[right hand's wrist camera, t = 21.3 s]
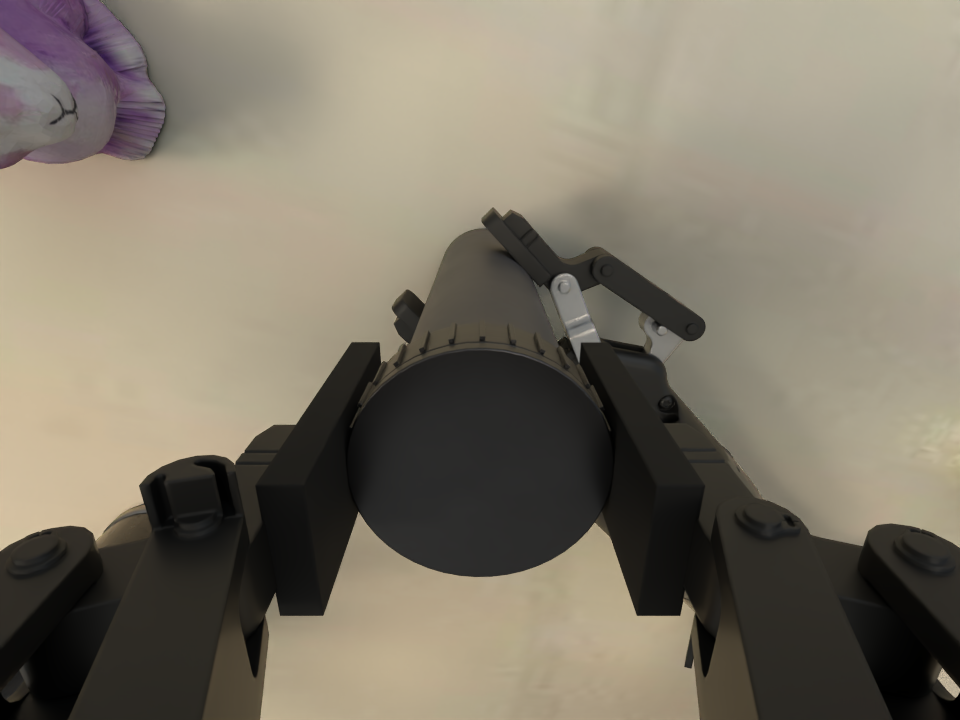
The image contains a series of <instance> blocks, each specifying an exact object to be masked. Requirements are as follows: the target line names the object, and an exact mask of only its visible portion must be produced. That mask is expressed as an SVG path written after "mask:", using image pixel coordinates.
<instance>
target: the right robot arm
mask: <svg viewBox="0 0 960 720" xmlns="http://www.w3.org/2000/svg"><path fill="white" fill-rule="evenodd" d="M579 364H580V366H581V367H582V369H583V371H584V373H585V375H586V377H587V379H588V382H589V384H590V386H591V385H593V386H594V388H595V390H596V392H597V394H598V396H599V398H600V400H601V403H602V405H603V407H604V409H605V410H604V411H603V413H604V415H605V418H606V420H607V422H608V424H609V426H610V428H611V430H612V433H611V438H612V443H613V447H614V471H613V480H612V485H611V490H610V493H609V496H608V498H607V501H606V503H605V506H604V508H603V509H602V514H603V517H604V520H605V522H606V525H607V528H608V531H609V534H610V537H611V540H612V543H613V546H614V549H615V552H616V555H617V558H618V561H619V564H620V567H621V570H622V573H623V576H624V579H625V582H626V585H627V588H628V590H629V593H630V596H631V599H632V602H633V605H634V608H635V611H636V614H637V616H680V614H681V609H682V604H683V599H684V593H685V591H686V593H687V595H688V597H689V599H690V601H691V604H692V606H693V608H694V610H695V616H694V621H693V625H692V630H691V635H690V640H689V645H688V650H687V654H686V660H685V666H684V667H687V668H692V663H693V659H694V666H695V676H696V685H697V695H698V704H699V713H700V720H960V693H959V695H958V696H957V697H956V698H955V697H953V696H952V695H951V694H950V693H949V692H948V691H947V690H946V689H945V688H944V686H943V685H942V684H941V683H940V681H939V680H938V679H937V678H938V676H939V674H940V671H941V669H942V668H943V669H944V670H945V671H946V673H947V674H948V675H949V676H950V677H951V678H952V680H953V681H954V682H955V683H956V684H957V686H958V687H959V688H960V548H959V547H957V546H956V545H955V544H953V543H951V542H949V541H947V540H945V539H943V538H941V537H939V536H937V535H935V534H934V533H932V532H929V531H926V530H923V529H922V530H921V529H920V528H916V527H912V526H905V525H898V524H883V525H876V526H875V527H873V528H872V529H871V530H869V531H868V534H867V537H866V540H865V543H864V545H863V546H858V545H853V544H848V543H843V542H839V541H834V540H829V539H824V538H820V537H816V536H812V535H810V533H809V531H808V529H807V528H806V526H805V525H804V524H803V522H802V521H801V520H800V519H799V518H798V517H797V516H795V515H794V514H793V513H791V512H790V511H789V510H787V509H785V508H783V507H781V506H779V505H777V504H774V503H772V502H770V501H766V500H762V499H758V498H755V497H754V496H753V495H752V493H751V492H750V491H749V490H748V488H747V487H746V486H745V485H744V483H743V482H742V481H741V480H740V478H739V477H738V476H737V475H736V473H735V472H734V471H733V469H732V468H731V467H730V466H729V464H728V463H725V459H724V458H723V457H722V456H721V454H720V453H719V452H716V448H715V447H714V446H713V444H712V443H711V442H710V441H709V439H708V438H707V437H706V436H705V435H704V434H703V433H701V432H699V431H698V430H696V429H695V428H693V427H691V426H690V425H688V424H687V423H663V422H662V421H661V419H660V418H659V416H658V415H657V413H656V412H655V410H654V409H653V407H652V406H651V404H650V403H649V401H648V400H647V399H646V397H645V396H644V394H643V393H642V391H641V390H640V388H639V387H638V385H637V384H636V382H635V381H634V379H633V378H632V376H631V375H630V373H629V372H628V370H627V369H626V367H625V366H624V364H623V363H622V362H621V360H620V359H619V357H618V356H617V354H616V353H615V351H614V350H613V348H612V347H611V345H610V344H609V342H581V348H580V361H579ZM380 365H381V356H380V343H379V342H352V343H351V344H350V346H349V347H348V349H347V350H346V352H345V353H344V355H343V356H342V358H341V359H340V361H339V362H338V364H337V365H336V366H335V368H334V369H333V371H332V372H331V374H330V375H329V377H328V378H327V380H326V381H325V383H324V384H323V386H322V387H321V389H320V390H319V392H318V393H317V395H316V396H315V398H314V399H313V400H312V402H311V403H310V405H309V406H308V408H307V409H306V411H305V412H304V414H303V415H302V417H301V418H300V420H299V421H298V423H297V424H296V425H273V426H272V427H270V428H269V429H267V430H265V431H264V432H262V433H261V434H259V435H258V436H256V437H255V438H254V439H253V441H252V442H251V443H250V444H249V446H248V447H247V448H246V449H245V453H242V455H241V456H240V457H239V458H238V460H237V461H236V464H235V465H234V463H233V462H232V461H230V460H229V459H228V458H226V457H221V456H216V455H203V456H194V457H189V458H185V459H180V460H177V461H175V462H172V463H170V464H167V465H165V466H162V467H161V468H159V469H158V470H156V471H154V472H153V473H151V474H150V475H148V476H147V477H146V478H145V479H144V481H143V482H142V483H141V484H140V485H139V487H140V491H141V494H142V497H143V501H144V504H145V508H146V511H147V515H148V518H149V521H150V525H151V528H152V532H151V534H150V536H149V538H145V539H141V540H137V541H133V542H128V543H123V544H118V545H113V546H108V547H104V548H99V549H98V547H97V544H96V541H95V538H94V535H93V533H92V532H90V531H89V530H87V529H86V528H85V527H76V526H65V527H58V528H51V529H47V530H42V531H41V532H36V533H33V534H31V535H28V536H26V537H25V538H23V539H21V540H19V541H17V542H15V543H13V544H11V545H9V546H7V547H6V548H5V549H3V550H2V551H0V720H260V715H261V706H262V696H263V687H264V677H265V668H266V658H267V649H268V639H269V632H268V626H267V621H266V616H265V613H266V611H267V609H268V607H269V605H270V603H271V601H272V598H273V596H274V594H275V592H276V597H277V602H278V607H279V612H280V616H323V615H324V612H325V609H326V606H327V603H328V600H329V597H330V594H331V591H332V588H333V585H334V583H335V580H336V577H337V574H338V571H339V568H340V565H341V562H342V559H343V556H344V553H345V550H346V547H347V544H348V541H349V538H350V535H351V532H352V529H353V526H354V523H355V520H356V518H357V515H358V512H359V511H358V509H357V507H356V504H355V502H354V500H353V498H352V495H351V491H350V488H349V485H348V477H347V468H346V451H347V445H348V439H349V435H350V431H349V427H350V425H351V423H352V421H353V419H354V416H355V414H356V412H357V410H358V408H359V407H357V405H358V403H359V401H360V399H361V397H362V395H363V393H364V391H365V389H366V387H367V385H368V383H369V382H371V383H373V380H374V378H375V376H376V374H377V372H378V370H379V368H380ZM19 670H20V672H21V675H22V677H23V679H24V681H23V683H22V684H21V685H20V686H19V687H18V689H17V690H16V691H15V692H14V693H13V694H12V695H11V696H10V697H8V698H7V699H4V698H3V696H2V694H1V691H2V690H3V689H4V688H5V686H6V685H7V684H8V683H9V682H10V681H11V679H12V678H13V677H14V676H15V675H16V673H17V672H18V671H19Z"/></svg>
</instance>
